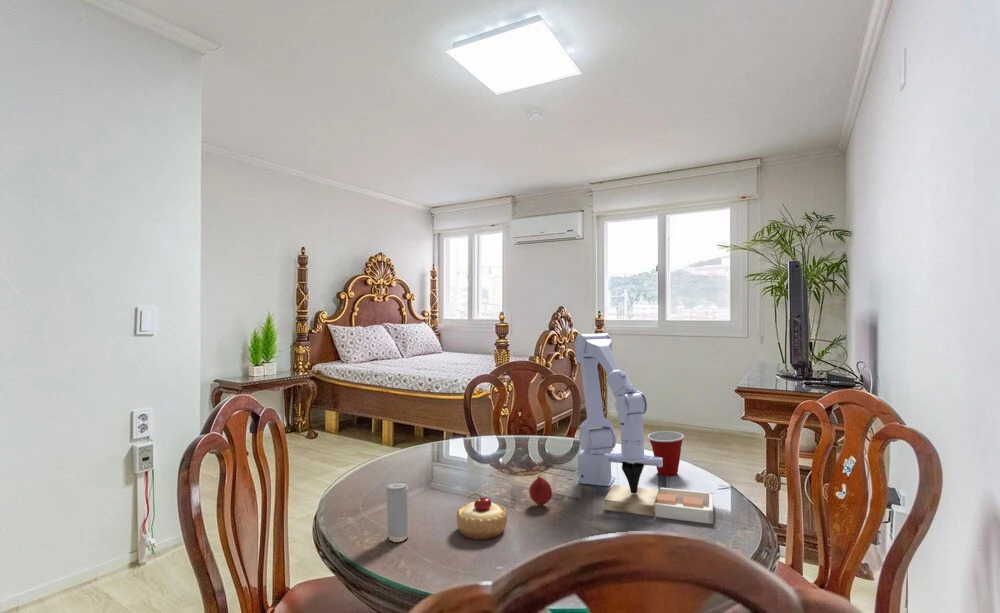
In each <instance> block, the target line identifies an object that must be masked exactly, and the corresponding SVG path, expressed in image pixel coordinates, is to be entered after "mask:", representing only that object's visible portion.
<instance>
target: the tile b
mask: <svg viewBox="0 0 1000 613" xmlns="http://www.w3.org/2000/svg"><path fill="white" fill-rule="evenodd" d="M683 506H685V507H693V508H702V509H704V506H703V498H695V497H686V496H684V499H683Z"/></svg>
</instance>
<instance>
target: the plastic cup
mask: <svg viewBox="0 0 1000 613" xmlns="http://www.w3.org/2000/svg"><path fill="white" fill-rule="evenodd" d="M684 438H685V435H684V433H681V432H678V431H671V430H666V431H665V430H661V431H654V432H651V433H649V434H648V435H647V439H648V440H649V441H650V445H651V448H652V453H653V457H660V458H662V460H663V466H662V467H658V466H656V470H657V474H658V475H661V476H664V477H673V476H677V475H678V472H679V467H680V459H681V452H682V446H683V440H684Z"/></svg>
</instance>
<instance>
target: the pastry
mask: <svg viewBox="0 0 1000 613" xmlns="http://www.w3.org/2000/svg"><path fill="white" fill-rule="evenodd" d="M473 496H478V497H479V498H478V499H476V500H475V501H473V502H469V503H468V504H466V503H465V504H464V505H463V506H460V508H458V510H457V513H456V523H457V529H458V530H459V532H460V534H461V535H462V534H463V535H464V536H463V535H462V536H463V537H465V538H467V537H468V538H467V539H469V538H471V539H470V540H479V541H481V540H482V541H483V540H490V539H493V538H497V537H498V536H500V535H501V534H502V533H503V532H504V530H505V528H506V526H507V523H508V513H507V512H508V511H507V508H505V506H504V505H502V504H499V503H494V502H492V500H491V499H490V498H489V497H488V496H487V497H482V496H481V495H480V494H479V493H473V494H471V495H469V497H468V498H467V499H466V501H468V500H469V499H470V498H471V497H473Z"/></svg>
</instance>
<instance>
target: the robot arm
mask: <svg viewBox="0 0 1000 613" xmlns="http://www.w3.org/2000/svg"><path fill="white" fill-rule="evenodd" d="M573 346H574V354H575V358H576V359H575V360H576V362H578V363H579V364H580V370H581V379H582V387H583V394H584V395H583V396H584V403H585V410H586V411H585V412H586V419H585V420H583V422H582V423H581V424H580V425H579V435H578V441H579V445H580V448H581V450H579V452H578V456H577V469H578V470H577V472H578V475H577V476H578V479H577V480H578V481H577V484H582V485H583V484H584V485H595V486H602V487H612V486H611V485H612V484H613V483H614V481H615V479H616V477H615V476H612V463H616V464H617V463H619V464H621V470H622V472H623V473H624V475H625V478H626V480H627V483H628V486H630V490H631V493H635V494H636V493H637V490H638V487H639V481H640V478H641V475H642V473H643V469H644V467H645V466H652V467H657V466H658V467H662V466H663V460H662V458H660V457H654V455H653V456H652V455H647V454H645V443H644V442H645V441H644V439H645V438H644V418H643V415H644V414H646V413H647V409H648V401H647V399H646V396H645V394H644V393H643V392H642V391H640V390H639V389H637V388H635V387H634V385H633V383H632V381H631V380H630V377H629V376H628V374H627V372H625V371H624V370H620V367H619V365H618V363H617V361H616V359H615V356H614V354H613V351H612V349H613V340H612V338H611V336H610V335H609V333H608V332H602V333H578V334H577V336H576V337H575V339H574V345H573ZM599 364H600V365H601V367H602V369H603V370H604V371H605V373H606V374H607V378H606V382H607V384H608V387H609V389H610V391H611V392H612V395H613V397H614V398H615V403H614V406H615V410H616V413H617V419H618V422H620V424H619V425H620V445H621V446H620V447H621V449H620V451H621V453H620V452H619V453H617V452H616V453H612V452H613V450H614V449H615V447H616V444H617V436H616V432H615V430H614V426H613V423H612V422H611V421H610V420H608V419H607V418H606V417H605V415H604V406H603V398H602V392H601V390H602V389H601V385H600V384H601V383H600V377H599V376H600V375H599V369H598V365H599Z"/></svg>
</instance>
